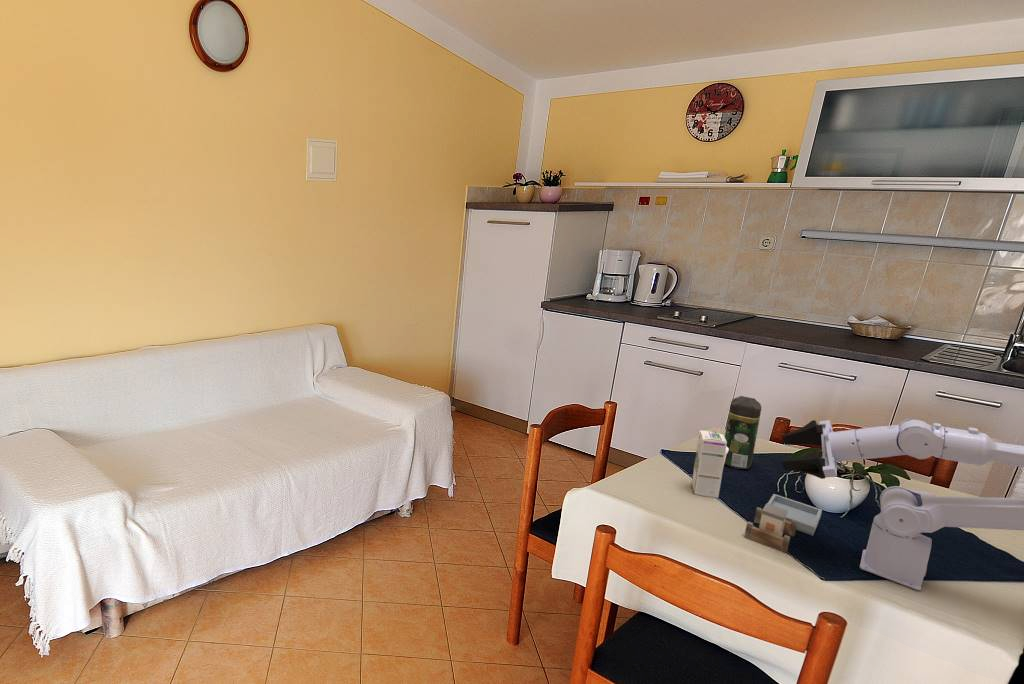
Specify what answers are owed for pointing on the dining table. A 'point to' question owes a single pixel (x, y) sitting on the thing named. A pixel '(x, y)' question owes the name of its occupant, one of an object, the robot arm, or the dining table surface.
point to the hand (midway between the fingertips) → (783, 452)
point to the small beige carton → (773, 519)
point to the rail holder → (768, 537)
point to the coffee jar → (742, 431)
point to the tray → (798, 513)
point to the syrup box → (709, 463)
